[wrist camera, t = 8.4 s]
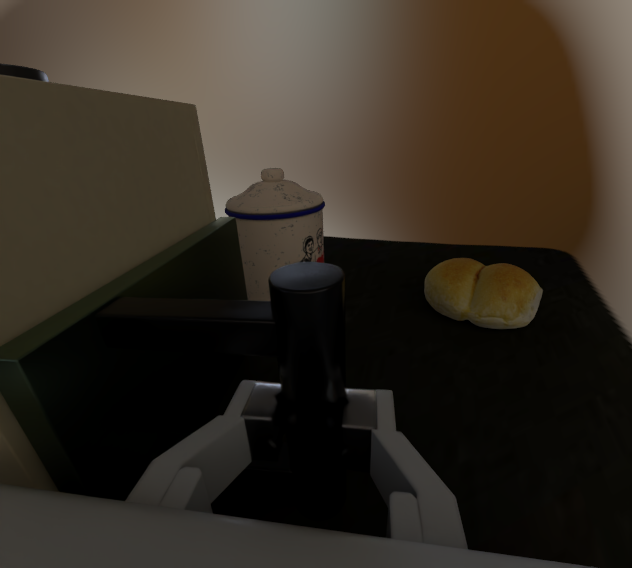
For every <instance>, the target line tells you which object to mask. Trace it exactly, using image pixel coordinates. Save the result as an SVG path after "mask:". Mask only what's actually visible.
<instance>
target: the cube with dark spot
mask: <svg viewBox="0 0 632 568" xmlns="http://www.w3.org/2000/svg"><path fill="white" fill-rule="evenodd" d="M215 220H216V218H215V212H214V207H213V201H212V195H211V190H210V184H209V178H208V172H207V167H206V161H205V156H204V150H203V144H202V138H201V133H200V127H199V122H198V116H197V110H196V105H193V104H187V103H181V102H174V101H167V100H161V99H154V98H149V97H142V96H135V95H129V94H123V93H116V92H110V91H103V90H97V89H90V88H84V87H77V86H71V85H64V84H58V83H52V82H49V80H48V77H47V75H46V74H45V73H44V72H42V71H40V70H37V69H33V68H28V67H22V66H15V65H8V64H0V346H2V345H4V344H5V343H7V342H9V341H10V340H12V339H14V338H16V337H17V336H19V335H21V334H22V333H24V332H26V331H27V330H29V329H31V328H33V327H34V326H36V325H38V324H39V323H41V322H43V321H45V320H46V319H48V318H50V317H51V316H53V315H55V314H56V313H58V312H60V311H62V310H63V309H65V308H67V307H68V306H70V305H72V304H73V303H75V302H77V301H79V300H80V299H82V298H84V297H85V296H87V295H89V294H91V293H92V292H94V291H96V290H97V289H99V288H101V287H102V286H104V285H106V284H108V283H109V282H111V281H113V280H114V279H116V278H118V277H119V276H121V275H123V274H125V273H126V272H128V271H130V270H131V269H133V268H135V267H137V266H138V265H140V264H142V263H143V262H145V261H147V260H148V259H150V258H152V257H154V256H155V255H157V254H159V253H160V252H162V251H164V250H165V249H167V248H169V247H171V246H172V245H174V244H176V243H177V242H179V241H181V240H183V239H184V238H186V237H188V236H189V235H191V234H193V233H194V232H196V231H198V230H200V229H201V228H203V227H205V226H206V225H208V224H210V223H211V222H213V221H215ZM0 484H6V485H13V486H20V487H27V488H35V489H42V490H49V491H56V492H59V490H58V488H57V487H56V485H55V483H54V482H53V480H52V478H51V477H50V475H49V473H48V472H47V470H46V468H45V467H44V465H43V463H42V462H41V460H40V458H39V456H38V455H37V453H36V451H35V450H34V448H33V446H32V445H31V443H30V441H29V440H28V438H27V436H26V435H25V433H24V431H23V430H22V428H21V426H20V425H19V423H18V421H17V419H16V418H15V416H14V414H13V413H12V411H11V409H10V408H9V406H8V404H7V403H6V401H5V399H4V398H3V396H2V394H1V393H0Z"/></svg>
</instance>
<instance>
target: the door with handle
mask: <svg viewBox="0 0 632 568" xmlns="http://www.w3.org/2000/svg"><path fill="white" fill-rule="evenodd" d="M268 283H269V292H270V300H271V301H250V300H248V297H247V291H246V284H245V277H244V271H243V264H242V257H241V251H240V244H239V237H238V231H237V224H236V218H235V217H220V218H218V219H217V220H215V221H213V222H211V223H210V224H208V225H206V226H205V227H203V228H201V229H200V230H198V231H196V232H194V233H193V234H191V235H189V236H188V237H186V238H184V239H183V240H181V241H179V242H177V243H176V244H174V245H172V246H171V247H169V248H167V249H165V250H164V251H162V252H160V253H159V254H157V255H155V256H154V257H152V258H150V259H148V260H147V261H145V262H143V263H142V264H140V265H138V266H137V267H135V268H133V269H131V270H130V271H128V272H126V273H125V274H123V275H121V276H119V277H118V278H116V279H114V280H113V281H111V282H109V283H108V284H106V285H104V286H102V287H101V288H99V289H97V290H96V291H94V292H92V293H91V294H89V295H87V296H85V297H84V298H82V299H80V300H79V301H77V302H75V303H73V304H72V305H70V306H68V307H67V308H65V309H63V310H62V311H60V312H58V313H56V314H55V315H53V316H51V317H50V318H48V319H46V320H45V321H43V322H41V323H39V324H38V325H36V326H34V327H33V328H31V329H29V330H27V331H26V332H24V333H22V334H21V335H19V336H17V337H16V338H14V339H12V340H10V341H9V342H7V343H5V344H4V345H2V346H0V393H1V394H2V396H3V398H4V399H5V401H6V403H7V404H8V406H9V408H10V409H11V411H12V413H13V414H14V416H15V418H16V419H17V421H18V423H19V425H20V426H21V428H22V430H23V431H24V433H25V435H26V436H27V438H28V440H29V441H30V443H31V445H32V446H33V448H34V450H35V451H36V453H37V455H38V456H39V458H40V460H41V462H42V463H43V465H44V467H45V468H46V470H47V472H48V473H49V475H50V477H51V478H52V480H53V482H54V483H55V485H56V487H57V488H58V490H59V492H63V493H70V494H77V495H84V496H92V497H99V498H106V499H113V500H120V501H125V500H126V499H127V497H128V496H129V494H130V493H131V491H132V490H133V488H134V487H135V485H136V484H137V483H138V481H139V480H140V478H141V477H142V475H143V474H144V472H145V471H146V469H147V468H148V466H149V465H150V463H151V462H152V461H153V460H154V459H155V458H157V457H158V456H160V455H161V454H163V453H164V452H166V451H167V450H169V449H170V448H172V447H173V446H175V445H176V444H178V443H179V442H180V441H182V440H183V439H185V438H186V437H188V436H189V435H191V434H192V433H194V432H195V431H197V430H198V429H200V428H201V427H203V426H204V425H205V424H207V423H208V422H210V420H211V419H212V417H213V415H214V413H215V411H216V409H217V407H218V406H219V404H220V402H221V400H222V398H223V396H224V395H225V393H226V391H227V389H228V387H229V385H230V383H231V382H232V380H233V378H234V376H235V374H236V372H237V370H238V369H239V367H240V365H241V363H242V361H243V359H244V358H245V356H246V355H250V356H268V357H277V361H278V369H279V378H280V386H281V395H282V404H283V412H284V421H285V429H286V438H287V442H283V444H282V448H281V451H280V455H279V458H278V462H274V461H262V460H252V462H251V463H250V464H249V465H248V466H247V467H246V468H245V469H244V470H243V471H242V472H241V473H240V474H239V475H238V476H237V477H236V478H235V479H234V480H233V481H232V482H231V483H230V484H229V485H228V486H233V487H241V488H250V489H258V490H267V491H275V492H284V493H292V494H293V498H294V503H295V505H296V507H297V509H298V510H299V511H300V513H301V514H303V515H304V516H305V517H307V518H309V519H311V520H315V521H324V520H328V519H330V518H332V517H334V516H335V515H336V514H337V513H338V512H339V511H340V510H341V509H342V507H343V506H344V503H345V500H346V469H342V447H343V443H342V417H343V407H345V393H346V370H345V275H344V272H343V271H342V270H341V269H340V268H339V267H337V266H335V265H332V264H328V263H322V262H299V263H293V264H289V265H286V266H283V267H280V268H278V269H276V270H275V271H273V272H272V273H271V274H270V276H269V279H268Z"/></svg>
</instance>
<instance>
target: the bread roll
mask: <svg viewBox="0 0 632 568" xmlns="http://www.w3.org/2000/svg"><path fill="white" fill-rule="evenodd" d="M424 290H425V291H424V292H425V297H426V299H427V301H428V302H429V304H430V305H431V306H432V307H433V308H434V309H435V310H436V311H437V312H439V313H441V314H443V315H445V316H447V317H450V318H452V319H455V320H458V321H463V320H466V319H468V320H469V321H470V322H472V323H473V324H475V325H477V326H480V327H485V328H492V329H511V328H519V327H524V326H526V325H528V324H529V323H530V322H531V320H532V319H533V318H534V317H535V314H536V312H537V310H538V306H539V302H540V299H541V296H542V292H543V290H542V289H541V288H540V287H539V285H538V283H537V282H536V280H535V279H534V278H533V277H531V276H530V274H528V273H527V272H526V271H524V270H522V269H521V268H519V267H516V266H514V265H511V264H504V263H500V264H494V265H490V266H485V265H483V264H482V263H480V262H478V261H475V260H473V259H470V258H454V259H451V260H447V261H444V262H442V263H440V264H438V265H437V266H435V267H434V268H433V269H432V270H431V271H430V272H429V273H428V275H427V276H426V278H425V289H424Z"/></svg>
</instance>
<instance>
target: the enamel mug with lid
mask: <svg viewBox="0 0 632 568" xmlns="http://www.w3.org/2000/svg"><path fill="white" fill-rule="evenodd" d="M261 178H262V180H263V181H261V182H257V183H255V184H253V185H251V186H250V187H249V188H248V189H247V190H246V191H244V192H243V193H241V194H239V195H237V196H234V197H232V198H230V199H229V200H228V201H227V203H226V208H225V213H226V214H227V215H228V216H229V217H235V218H236V224H237V231H238V237H239V244H240V251H241V257H242V264H243V271H244V277H245V284H246V291H247V297H248V300H250V301H271V300H270V292H269V283H268V279H269V276H270V274H271V273H272V272H273V271H275V270H276V269H278V268H280V267H283V266H286V265H289V264H293V263H299V262H322V263H324V242H323V213H322V209H323V208H324V206H325V202H324V201H323V198H322V196H321V195H320V194H319V193H317V192H314V191H310V190H307V189H304V188H303V187H301V186H300V185H298V184H297V183H295V182H293V181H289V180H283V178H284V172H283V170H282V169H280V168H270V169H264V170H262V172H261Z"/></svg>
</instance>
